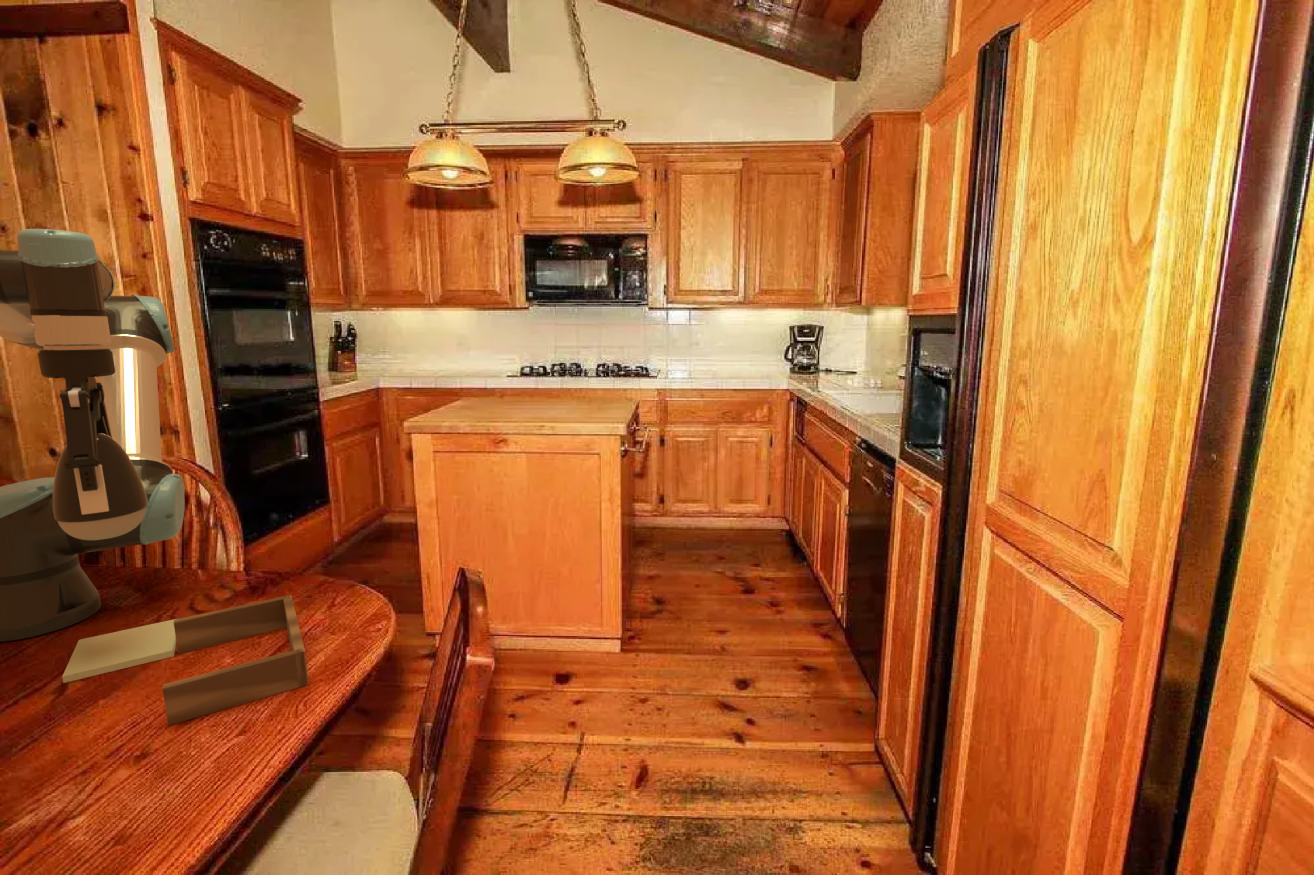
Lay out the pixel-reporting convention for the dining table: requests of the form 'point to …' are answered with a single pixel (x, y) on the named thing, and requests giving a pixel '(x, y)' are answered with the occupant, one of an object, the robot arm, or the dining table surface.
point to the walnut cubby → (241, 679)
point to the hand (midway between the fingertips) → (101, 502)
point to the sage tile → (121, 650)
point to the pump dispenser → (120, 488)
